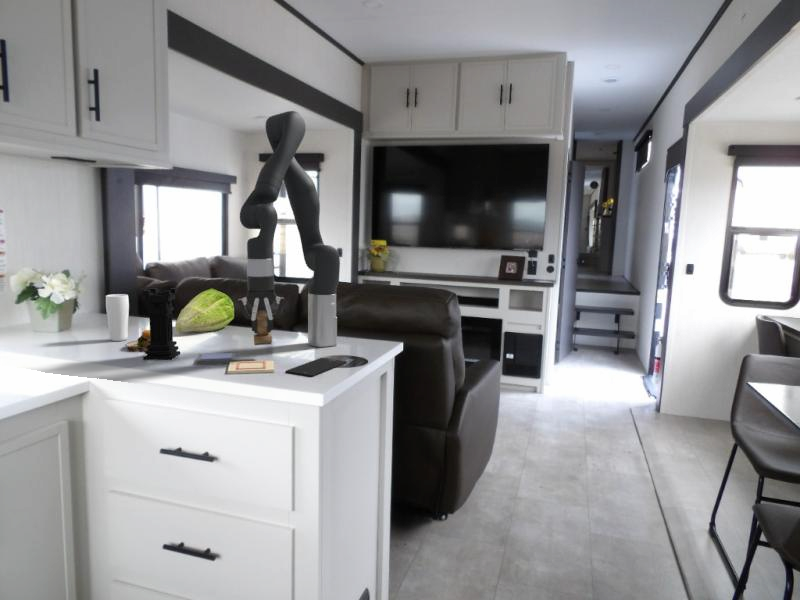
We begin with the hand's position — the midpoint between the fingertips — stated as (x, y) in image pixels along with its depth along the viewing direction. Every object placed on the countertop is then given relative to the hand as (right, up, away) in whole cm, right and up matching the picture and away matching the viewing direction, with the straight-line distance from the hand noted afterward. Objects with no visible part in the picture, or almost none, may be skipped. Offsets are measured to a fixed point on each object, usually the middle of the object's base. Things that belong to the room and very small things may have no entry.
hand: (262, 332), depth 163 cm
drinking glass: (-53, -4, +22) cm, 58 cm away
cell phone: (+17, -10, -7) cm, 21 cm away
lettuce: (-32, -2, +42) cm, 53 cm away
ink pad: (-13, -8, -3) cm, 15 cm away
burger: (-39, -6, +12) cm, 42 cm away
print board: (-1, -9, -10) cm, 14 cm away
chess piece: (-30, -7, +1) cm, 31 cm away
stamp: (0, -3, 0) cm, 3 cm away
